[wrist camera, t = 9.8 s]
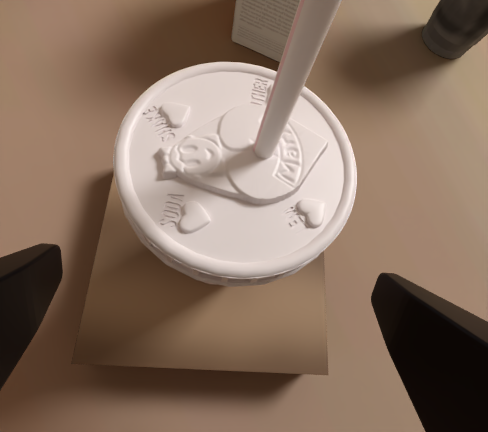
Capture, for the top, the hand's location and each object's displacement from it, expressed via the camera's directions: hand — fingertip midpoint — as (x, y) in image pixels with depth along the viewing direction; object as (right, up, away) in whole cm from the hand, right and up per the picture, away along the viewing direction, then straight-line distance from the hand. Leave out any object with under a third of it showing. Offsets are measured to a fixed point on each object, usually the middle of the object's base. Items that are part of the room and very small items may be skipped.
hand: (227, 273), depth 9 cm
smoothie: (-1, 0, +8) cm, 8 cm away
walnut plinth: (-1, -1, +11) cm, 11 cm away
